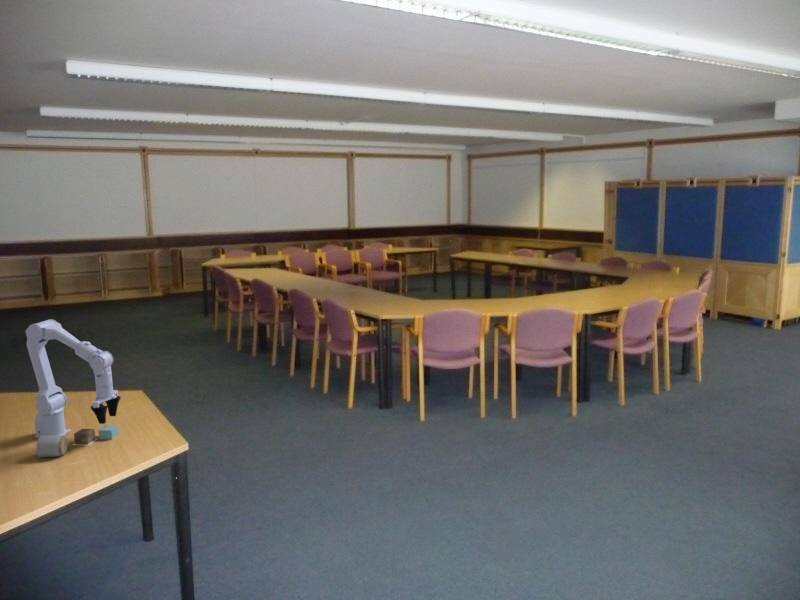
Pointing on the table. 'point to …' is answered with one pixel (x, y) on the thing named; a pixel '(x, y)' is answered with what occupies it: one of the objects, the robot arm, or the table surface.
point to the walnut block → (84, 436)
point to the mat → (86, 444)
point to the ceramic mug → (51, 446)
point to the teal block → (108, 432)
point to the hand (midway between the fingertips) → (107, 419)
